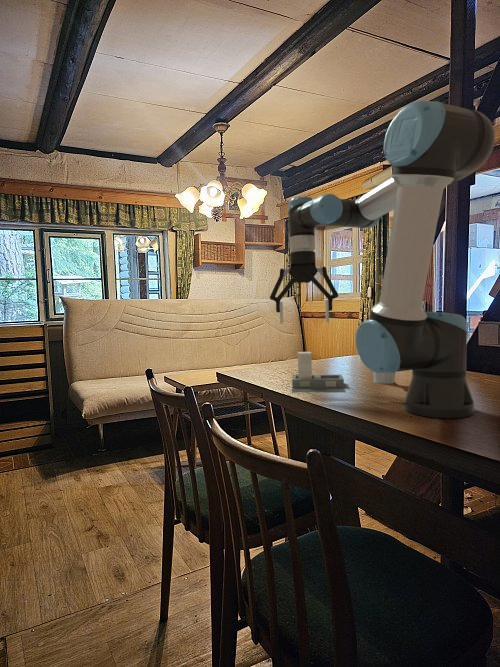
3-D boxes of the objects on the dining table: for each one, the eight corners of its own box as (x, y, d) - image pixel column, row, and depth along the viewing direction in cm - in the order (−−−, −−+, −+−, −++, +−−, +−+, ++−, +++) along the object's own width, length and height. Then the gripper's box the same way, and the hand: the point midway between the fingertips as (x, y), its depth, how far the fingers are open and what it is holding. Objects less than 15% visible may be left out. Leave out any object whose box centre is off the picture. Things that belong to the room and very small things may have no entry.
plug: (312, 386, 130) (311, 353, 129) (298, 386, 130) (297, 353, 129) (311, 383, 134) (311, 351, 133) (298, 383, 135) (297, 351, 134)
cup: (394, 382, 138) (394, 344, 137) (400, 387, 130) (400, 347, 129) (368, 382, 139) (368, 345, 138) (373, 387, 131) (372, 348, 130)
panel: (345, 395, 121) (345, 383, 121) (291, 395, 123) (291, 383, 123) (339, 382, 141) (339, 371, 141) (293, 382, 143) (293, 371, 143)
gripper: (344, 251, 132) (345, 321, 133) (262, 255, 135) (264, 323, 136) (346, 247, 124) (347, 322, 125) (259, 252, 127) (261, 324, 129)
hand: (304, 322), depth 131 cm, fingers open, 13 cm apart
